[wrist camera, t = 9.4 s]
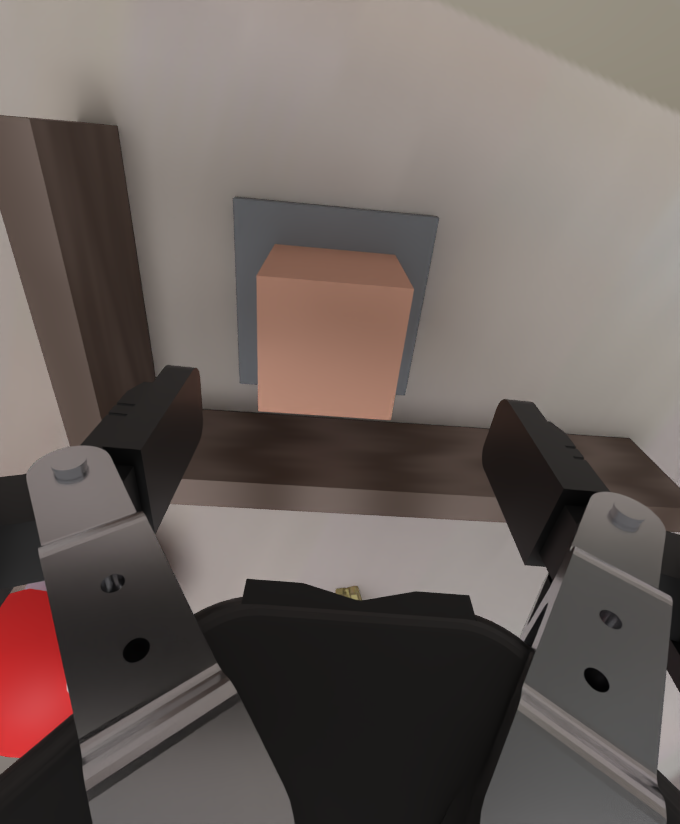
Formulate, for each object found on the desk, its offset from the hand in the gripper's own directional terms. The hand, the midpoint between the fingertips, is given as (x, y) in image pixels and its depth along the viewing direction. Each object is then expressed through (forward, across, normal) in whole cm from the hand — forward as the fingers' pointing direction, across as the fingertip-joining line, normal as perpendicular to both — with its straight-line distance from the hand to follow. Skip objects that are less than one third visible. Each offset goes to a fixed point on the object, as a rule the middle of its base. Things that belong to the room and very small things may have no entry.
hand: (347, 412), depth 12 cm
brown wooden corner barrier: (+11, -3, +2) cm, 12 cm away
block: (+11, +1, +1) cm, 11 cm away
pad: (+11, +1, +1) cm, 11 cm away
